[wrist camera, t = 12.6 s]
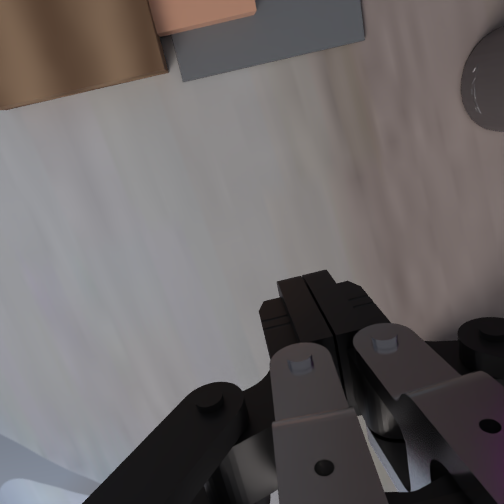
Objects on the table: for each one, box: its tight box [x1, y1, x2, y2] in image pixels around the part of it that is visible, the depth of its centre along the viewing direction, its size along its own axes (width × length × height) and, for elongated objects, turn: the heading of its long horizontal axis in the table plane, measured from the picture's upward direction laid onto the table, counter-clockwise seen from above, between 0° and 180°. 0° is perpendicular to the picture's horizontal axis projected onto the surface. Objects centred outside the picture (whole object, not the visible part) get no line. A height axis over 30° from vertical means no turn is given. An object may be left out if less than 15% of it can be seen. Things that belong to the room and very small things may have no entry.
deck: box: [0, 0, 169, 110], centre depth 33 cm, size 14×12×4 cm
